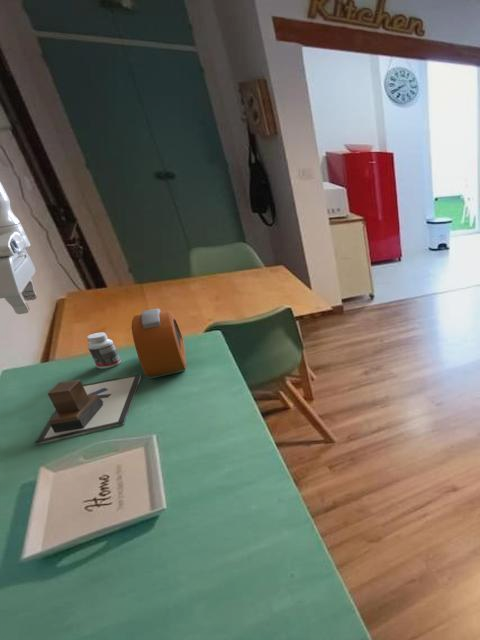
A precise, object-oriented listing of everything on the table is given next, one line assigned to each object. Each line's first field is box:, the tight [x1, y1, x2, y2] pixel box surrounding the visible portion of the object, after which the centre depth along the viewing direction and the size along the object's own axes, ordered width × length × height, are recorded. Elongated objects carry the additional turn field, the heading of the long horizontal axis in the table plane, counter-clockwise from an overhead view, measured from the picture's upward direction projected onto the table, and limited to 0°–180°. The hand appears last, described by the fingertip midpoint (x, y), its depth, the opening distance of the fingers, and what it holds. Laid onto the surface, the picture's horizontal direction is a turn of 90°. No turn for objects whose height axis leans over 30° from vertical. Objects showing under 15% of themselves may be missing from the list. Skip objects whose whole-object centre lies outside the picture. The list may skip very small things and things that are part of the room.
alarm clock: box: [131, 308, 187, 379], centre depth 122 cm, size 23×9×17 cm, turn 37°
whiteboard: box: [34, 373, 143, 446], centre depth 105 cm, size 15×26×1 cm, turn 31°
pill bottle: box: [86, 332, 122, 370], centre depth 122 cm, size 5×5×10 cm
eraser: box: [47, 379, 103, 433], centre depth 98 cm, size 10×5×9 cm, turn 21°
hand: (27, 305), depth 88 cm, fingers open, 8 cm apart
